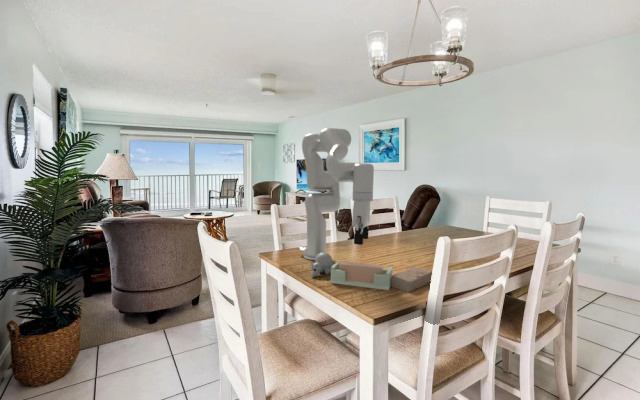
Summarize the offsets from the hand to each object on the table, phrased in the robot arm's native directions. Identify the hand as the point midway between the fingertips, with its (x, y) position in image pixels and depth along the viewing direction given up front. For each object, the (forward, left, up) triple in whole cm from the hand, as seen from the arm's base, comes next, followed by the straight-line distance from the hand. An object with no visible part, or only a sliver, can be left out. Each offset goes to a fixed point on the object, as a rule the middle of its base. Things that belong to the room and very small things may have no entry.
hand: (361, 241), depth 125 cm
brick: (+19, +5, -17) cm, 25 cm away
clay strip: (0, -1, -15) cm, 15 cm away
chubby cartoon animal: (-18, +4, -16) cm, 24 cm away
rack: (0, 0, -16) cm, 16 cm away
